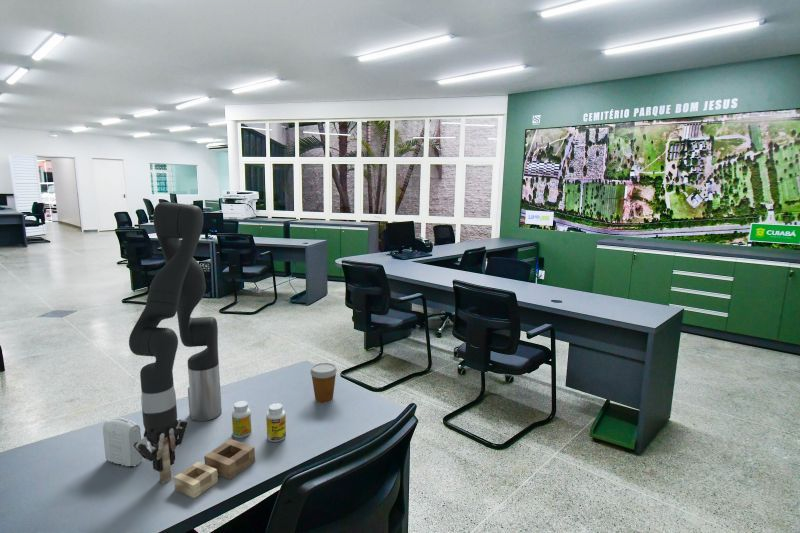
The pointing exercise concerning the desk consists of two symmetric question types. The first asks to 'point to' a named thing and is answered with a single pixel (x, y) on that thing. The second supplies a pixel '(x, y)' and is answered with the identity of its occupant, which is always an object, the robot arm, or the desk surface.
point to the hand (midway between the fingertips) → (164, 466)
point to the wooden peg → (165, 462)
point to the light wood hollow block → (195, 479)
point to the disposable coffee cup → (323, 381)
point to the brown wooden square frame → (230, 458)
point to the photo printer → (121, 441)
